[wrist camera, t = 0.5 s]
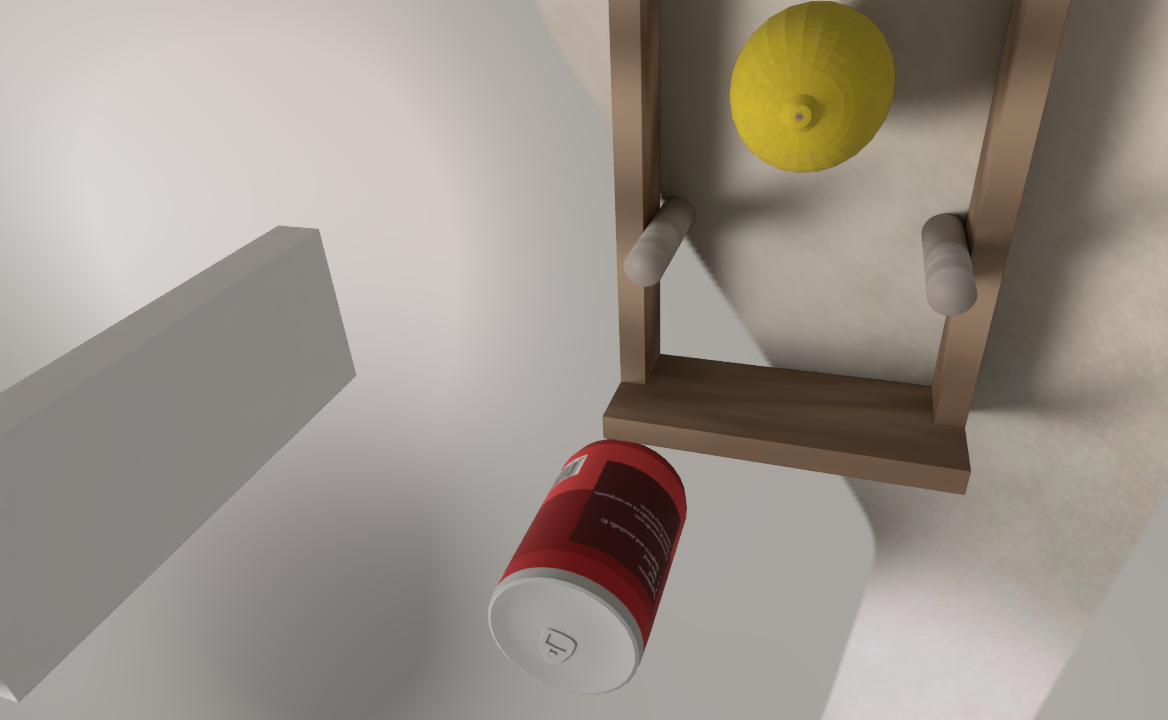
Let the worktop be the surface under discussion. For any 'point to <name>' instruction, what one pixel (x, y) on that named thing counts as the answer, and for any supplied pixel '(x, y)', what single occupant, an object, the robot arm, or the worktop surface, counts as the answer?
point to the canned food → (592, 569)
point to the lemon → (812, 86)
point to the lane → (797, 398)
